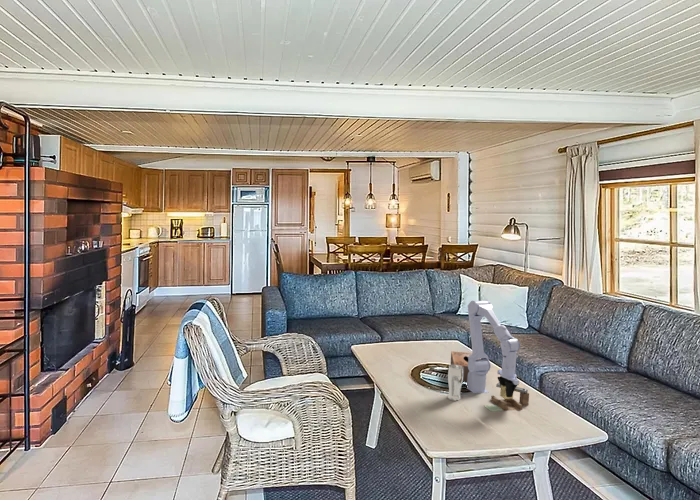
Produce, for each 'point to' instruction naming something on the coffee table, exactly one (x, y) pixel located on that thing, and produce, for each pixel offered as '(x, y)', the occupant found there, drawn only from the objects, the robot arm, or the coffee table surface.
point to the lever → (516, 389)
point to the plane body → (511, 402)
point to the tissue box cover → (461, 361)
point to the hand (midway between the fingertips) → (506, 394)
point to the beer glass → (455, 382)
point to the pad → (493, 408)
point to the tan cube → (504, 392)
